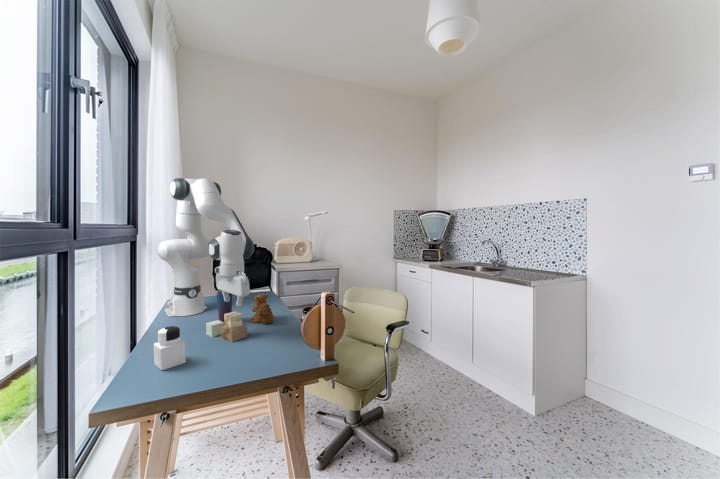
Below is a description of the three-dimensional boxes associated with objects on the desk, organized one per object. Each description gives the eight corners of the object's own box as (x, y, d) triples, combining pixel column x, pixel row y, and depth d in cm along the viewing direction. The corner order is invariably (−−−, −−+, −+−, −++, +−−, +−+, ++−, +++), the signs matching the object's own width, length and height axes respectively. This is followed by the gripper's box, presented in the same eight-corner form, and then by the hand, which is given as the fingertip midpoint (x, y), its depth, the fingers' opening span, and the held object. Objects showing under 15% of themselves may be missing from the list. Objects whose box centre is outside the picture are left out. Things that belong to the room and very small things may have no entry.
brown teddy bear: (268, 316, 148) (267, 290, 148) (280, 323, 137) (279, 295, 137) (248, 320, 142) (247, 293, 141) (259, 328, 131) (258, 299, 130)
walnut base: (221, 339, 119) (220, 327, 119) (236, 333, 125) (236, 322, 125) (232, 342, 115) (231, 330, 115) (247, 336, 121) (246, 325, 121)
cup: (229, 326, 133) (228, 293, 132) (214, 326, 133) (213, 293, 132) (235, 321, 140) (235, 290, 139) (221, 321, 140) (220, 290, 139)
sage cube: (206, 334, 123) (205, 323, 123) (218, 331, 127) (217, 320, 127) (211, 337, 120) (211, 325, 120) (223, 333, 124) (223, 322, 124)
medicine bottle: (177, 356, 102) (176, 323, 102) (186, 363, 98) (184, 327, 97) (153, 364, 97) (152, 328, 96) (161, 371, 92) (160, 333, 92)
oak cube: (224, 326, 120) (224, 314, 119) (236, 323, 123) (235, 311, 123) (230, 328, 116) (230, 316, 116) (242, 325, 120) (242, 313, 120)
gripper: (253, 272, 115) (254, 306, 116) (227, 266, 127) (227, 297, 128) (238, 274, 110) (238, 310, 111) (212, 268, 123) (213, 300, 123)
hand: (232, 303), depth 120 cm, fingers open, 8 cm apart
